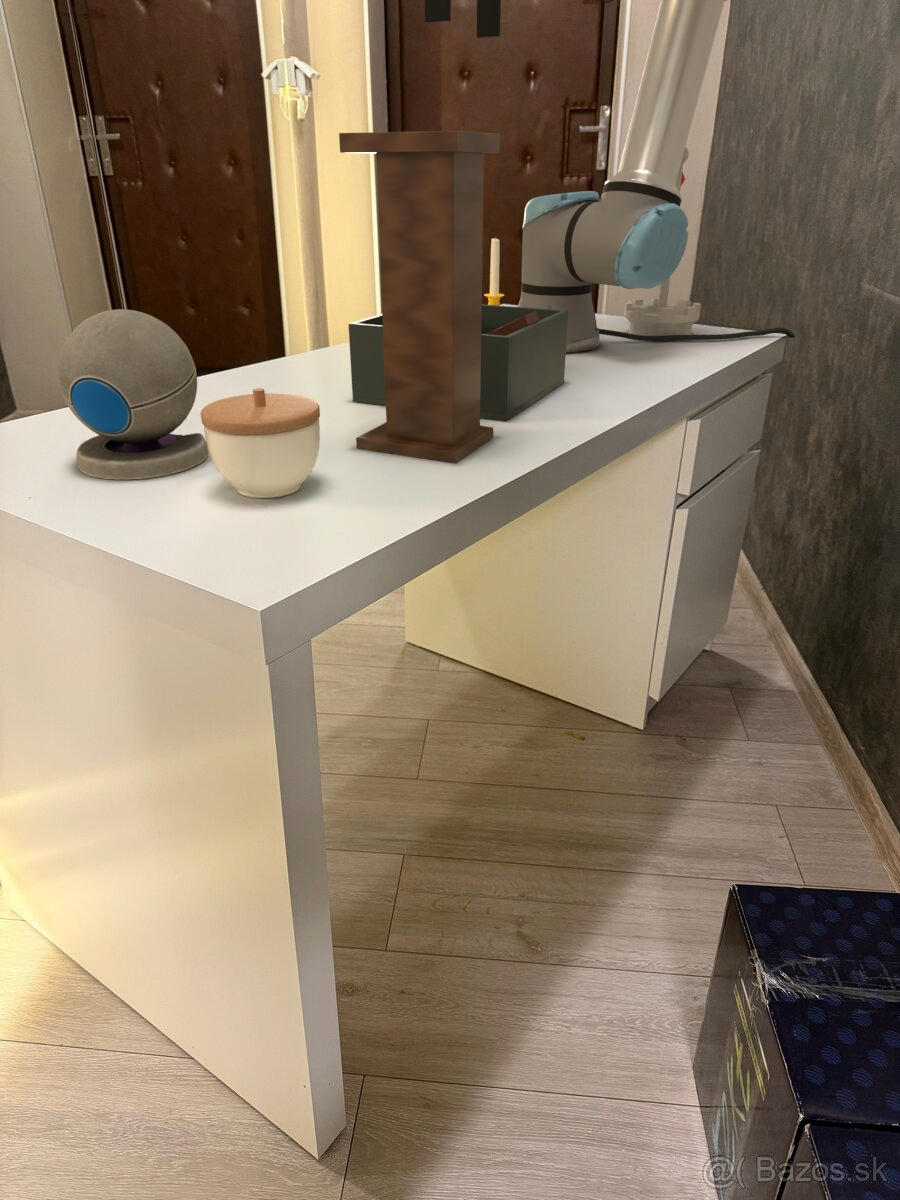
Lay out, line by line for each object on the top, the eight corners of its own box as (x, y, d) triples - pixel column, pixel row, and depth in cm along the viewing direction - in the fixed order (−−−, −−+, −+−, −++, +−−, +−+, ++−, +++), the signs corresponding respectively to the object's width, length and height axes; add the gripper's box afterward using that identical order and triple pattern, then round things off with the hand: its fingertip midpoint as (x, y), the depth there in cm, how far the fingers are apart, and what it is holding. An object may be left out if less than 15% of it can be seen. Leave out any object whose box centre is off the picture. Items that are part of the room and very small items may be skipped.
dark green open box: (427, 368, 125) (426, 300, 120) (564, 383, 117) (568, 310, 112) (352, 401, 108) (348, 323, 103) (506, 421, 100) (509, 337, 95)
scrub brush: (524, 315, 101) (533, 337, 102) (536, 311, 104) (544, 332, 105) (419, 365, 112) (428, 385, 112) (432, 360, 114) (440, 379, 115)
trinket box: (322, 505, 75) (314, 403, 71) (202, 509, 74) (186, 406, 70) (328, 467, 85) (321, 374, 80) (221, 470, 84) (208, 377, 79)
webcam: (227, 445, 91) (209, 302, 84) (170, 484, 80) (142, 323, 73) (121, 438, 94) (94, 298, 87) (51, 475, 83) (13, 319, 76)
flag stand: (685, 343, 141) (711, 143, 127) (612, 337, 147) (629, 144, 133) (704, 331, 152) (730, 144, 138) (635, 325, 157) (653, 145, 143)
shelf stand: (356, 448, 90) (338, 132, 76) (400, 424, 98) (391, 135, 84) (455, 463, 86) (456, 130, 72) (493, 437, 94) (500, 133, 80)
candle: (512, 324, 159) (515, 235, 152) (493, 327, 156) (495, 237, 148) (493, 320, 162) (495, 234, 155) (474, 324, 159) (475, 235, 152)
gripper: (481, -179, 95) (478, 44, 105) (370, -269, 75) (380, 16, 85) (543, -189, 92) (534, 40, 102) (445, -286, 72) (446, 11, 82)
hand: (464, 30), depth 93 cm, fingers open, 13 cm apart
